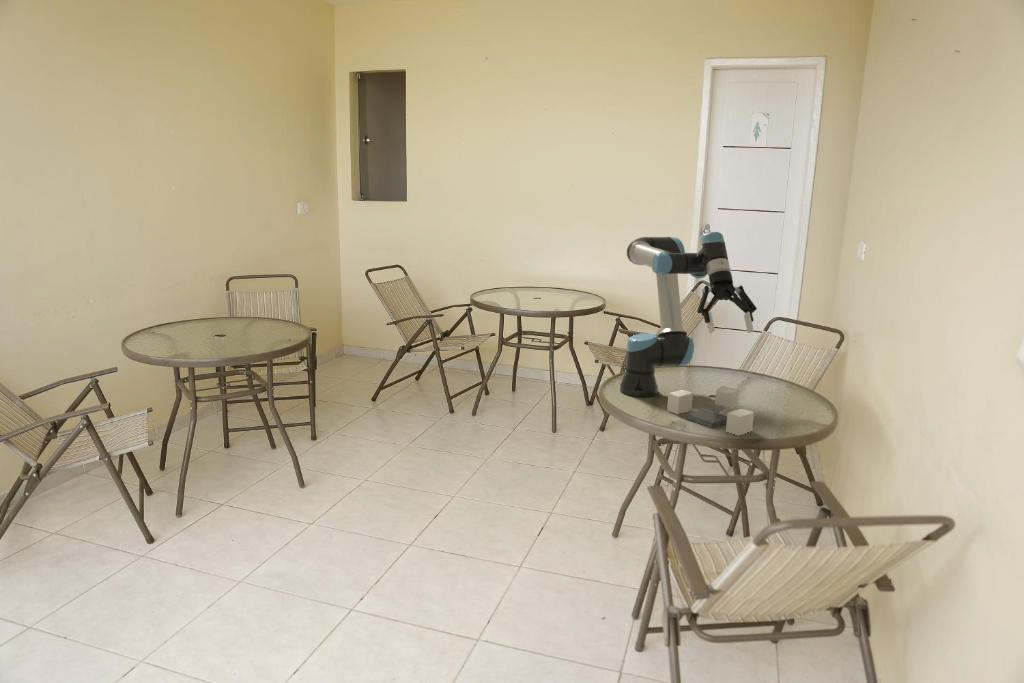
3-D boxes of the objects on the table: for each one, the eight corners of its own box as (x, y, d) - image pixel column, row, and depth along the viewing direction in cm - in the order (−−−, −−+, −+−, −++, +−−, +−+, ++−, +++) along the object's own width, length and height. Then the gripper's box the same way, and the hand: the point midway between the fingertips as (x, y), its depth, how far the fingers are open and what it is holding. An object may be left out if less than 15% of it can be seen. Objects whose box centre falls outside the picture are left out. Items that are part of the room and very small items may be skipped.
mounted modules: (667, 410, 258) (668, 393, 256) (680, 407, 262) (682, 389, 261) (738, 436, 234) (740, 416, 232) (751, 431, 239) (754, 412, 237)
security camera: (720, 410, 259) (723, 385, 257) (738, 415, 255) (741, 389, 253) (713, 415, 254) (716, 389, 252) (732, 419, 250) (734, 393, 248)
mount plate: (686, 419, 249) (687, 413, 249) (704, 413, 255) (704, 408, 255) (711, 428, 241) (712, 422, 241) (729, 422, 247) (729, 417, 246)
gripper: (689, 269, 231) (700, 327, 223) (758, 269, 234) (771, 326, 227) (681, 279, 237) (691, 336, 230) (748, 279, 241) (761, 335, 233)
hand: (731, 331), depth 228 cm, fingers open, 13 cm apart
